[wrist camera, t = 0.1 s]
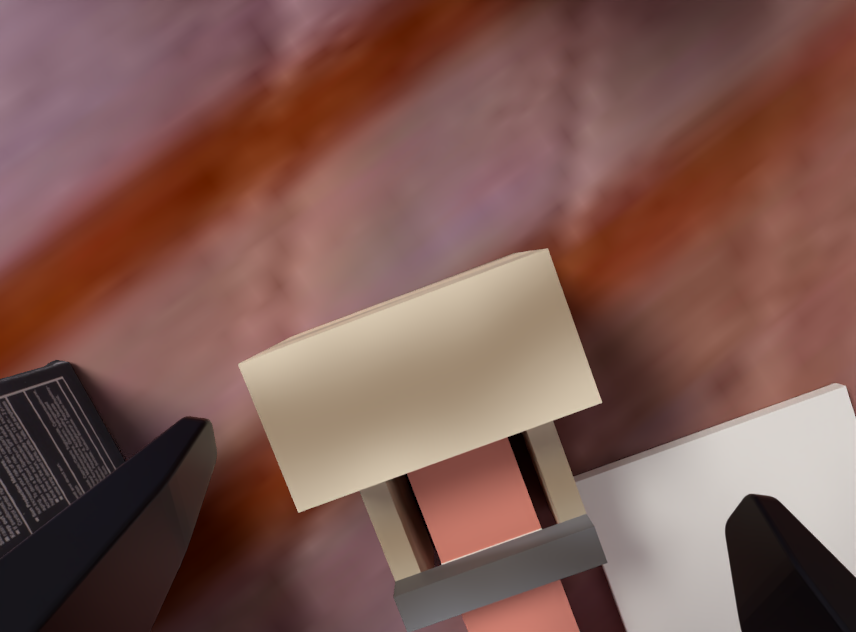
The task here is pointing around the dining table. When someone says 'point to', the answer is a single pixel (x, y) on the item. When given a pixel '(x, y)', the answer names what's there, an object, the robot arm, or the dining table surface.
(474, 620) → the pink striped block
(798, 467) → the tile
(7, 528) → the small box
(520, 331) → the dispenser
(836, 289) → the dining table surface
